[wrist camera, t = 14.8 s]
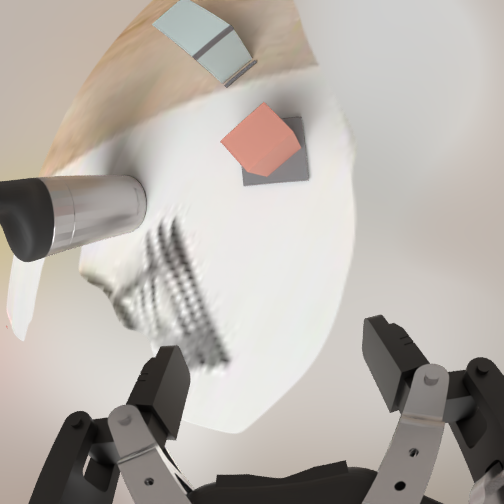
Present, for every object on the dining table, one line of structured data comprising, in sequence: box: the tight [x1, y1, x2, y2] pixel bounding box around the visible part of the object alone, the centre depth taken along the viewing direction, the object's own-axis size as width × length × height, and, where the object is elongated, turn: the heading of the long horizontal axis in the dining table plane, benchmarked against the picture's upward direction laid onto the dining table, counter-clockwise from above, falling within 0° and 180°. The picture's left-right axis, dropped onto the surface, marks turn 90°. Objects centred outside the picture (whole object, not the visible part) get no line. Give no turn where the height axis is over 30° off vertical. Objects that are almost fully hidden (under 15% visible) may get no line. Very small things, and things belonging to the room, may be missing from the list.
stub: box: [220, 103, 301, 177], centre depth 27 cm, size 4×6×9 cm
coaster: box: [242, 117, 309, 186], centre depth 31 cm, size 8×8×1 cm
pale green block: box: [152, 0, 257, 88], centre depth 26 cm, size 11×6×9 cm, turn 41°
